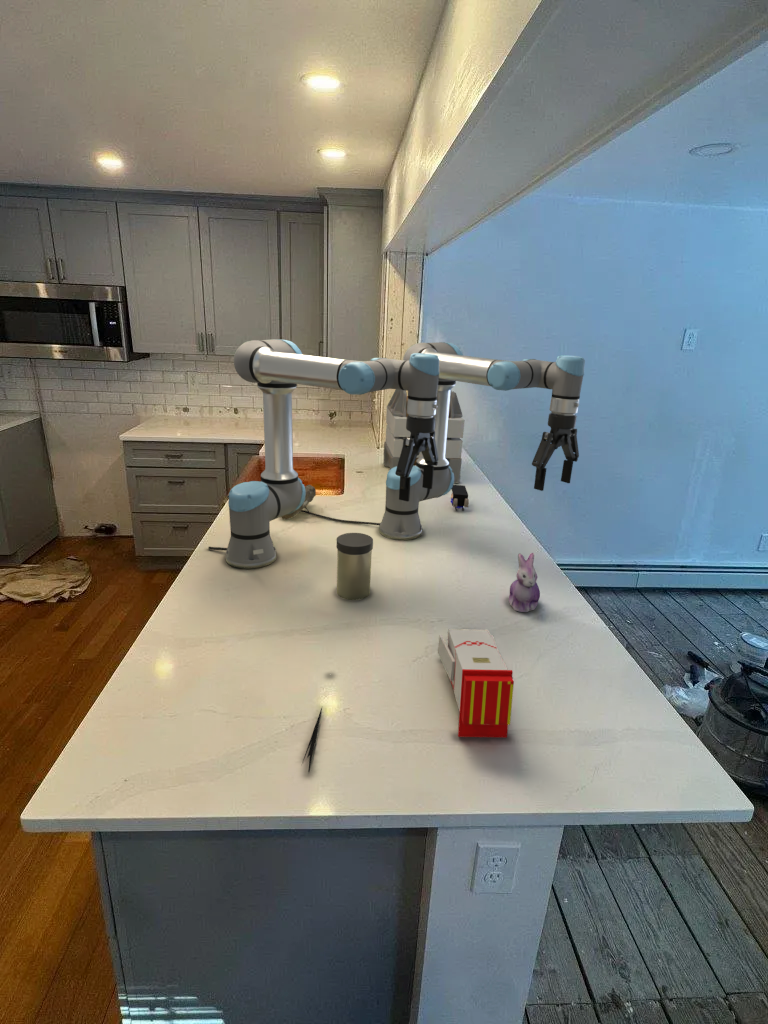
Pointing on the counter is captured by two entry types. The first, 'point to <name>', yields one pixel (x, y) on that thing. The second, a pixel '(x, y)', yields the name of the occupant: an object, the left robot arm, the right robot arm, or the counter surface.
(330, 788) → the counter surface
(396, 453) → the transformer
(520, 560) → the figurine
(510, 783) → the counter surface
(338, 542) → the lid
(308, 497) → the fossil
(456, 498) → the figurine character
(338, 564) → the jar
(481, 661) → the toy
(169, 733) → the counter surface
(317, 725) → the feather
